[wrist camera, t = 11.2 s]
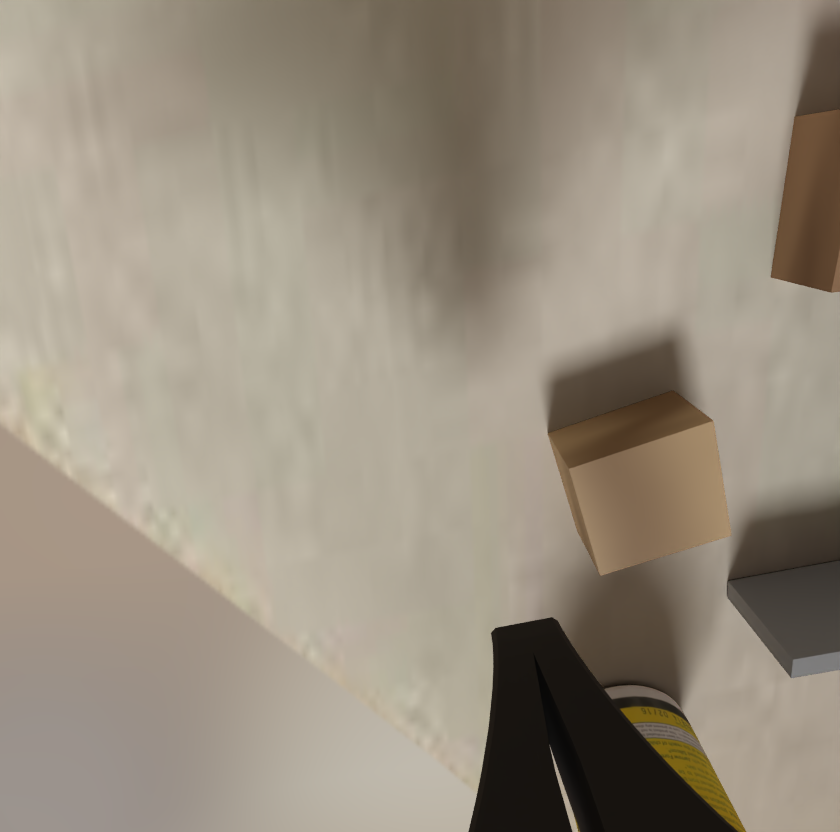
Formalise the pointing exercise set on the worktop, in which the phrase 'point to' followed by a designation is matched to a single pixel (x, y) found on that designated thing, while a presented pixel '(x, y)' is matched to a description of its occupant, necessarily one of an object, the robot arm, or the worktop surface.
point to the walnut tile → (811, 205)
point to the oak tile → (643, 481)
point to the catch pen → (794, 615)
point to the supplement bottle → (674, 743)
